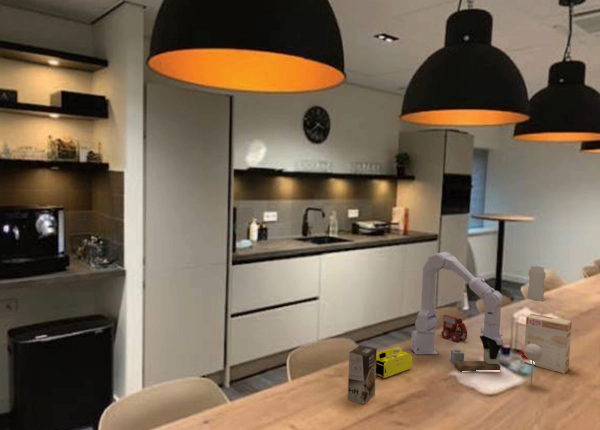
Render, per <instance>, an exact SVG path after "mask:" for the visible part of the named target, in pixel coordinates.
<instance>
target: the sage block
mask: <svg viewBox="0 0 600 430" xmlns="http://www.w3.org/2000/svg"><path fill="white" fill-rule="evenodd" d="M499 356H500V355H499V352H498V355H497V358H496V359H490V353H489V349H484V348H483V360H482V361H485V362H486V363H488V364H499Z"/></svg>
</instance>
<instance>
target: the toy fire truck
mask: <svg viewBox="0 0 600 430" xmlns="http://www.w3.org/2000/svg"><path fill="white" fill-rule="evenodd" d="M442 320H443V325H442V331H441V333H440V334H441V336H442V338H443V339H444V340H448V339H449V338H450V339H451V341H452V342H454V343H456V342H457V343H458V342H459V341H460V340H462V341H463V340H467V339H468V330H467V326H466V324H465V323H464V322H463V318H458V317H454V316H452V315H448V314H443V316H442Z"/></svg>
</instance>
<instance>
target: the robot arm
mask: <svg viewBox="0 0 600 430" xmlns="http://www.w3.org/2000/svg"><path fill="white" fill-rule="evenodd" d="M427 259H428V260H427V261H426V263H425V264H424V266H423V267H422V280H421V281H422V284H421V286H422V287H421V304H420V308H421V309H420V310H418V313H417V318H416V319H415V322H414V323H415V324H414V325H415V329H417V330H412V332H411V337H410V338H411V339H410V341H411V342H410V344H411V345H410V349H411V350H412V352H414V354H415V355H438V354H439V353H438V352H437V351H436V350H435V344H436V343H435V342H436V328H437V326H439V325H438V324H439V319H438V317H437V311H436V310H435V300H436V298H435V297H436V278H437V273H438V272H439V271H441V270H442V269H443V270H449V271H453V272H454V273H456V275H458V276H459V277H460V278H462V279H463V280H464V281H466V282H467V283H468V287H469V289H470V290H471V291H472V292H474V293H475V295H477V297H478V298H479V299H481V300H482V302H483V305H484V318H483V327H480V333H481V334H482V335H480V336H479V338H480V340H481V341H480V342H481V343H482V347H483V350H484V349H489V353H490V359H496V358H497V355H498V352H499V351H500V350H501V348H502V347H503V345H504V339H503V338H502V337H503V333H501V332H500V331H501V309H502V304H503V302H504V296H503V294H502V293H501V292H500V291H498V290H495V289H494V288H493V287H491V286H490V285H489V284H488V283H486V282H485V281H486V280H485V279H484V278H482V277H475V276H474V275H473V274H472V273H471V272H470V271H469V270H468V269H467V268H466V267H465V266H464V265H463V264H462V263H461V262H460V261H459V260H458V259H457V257H455V256H454V255H453V254H451V252H449V251H442V252H438V253H433V254H432V255H430V256H428V258H427Z"/></svg>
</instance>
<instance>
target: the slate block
mask: <svg viewBox="0 0 600 430" xmlns="http://www.w3.org/2000/svg"><path fill="white" fill-rule="evenodd" d="M449 360H450V362H451V363H453V365H455V361H465V352H464V351H462V349H458V348H457V349H455V348H454V349H450V359H449Z"/></svg>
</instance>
